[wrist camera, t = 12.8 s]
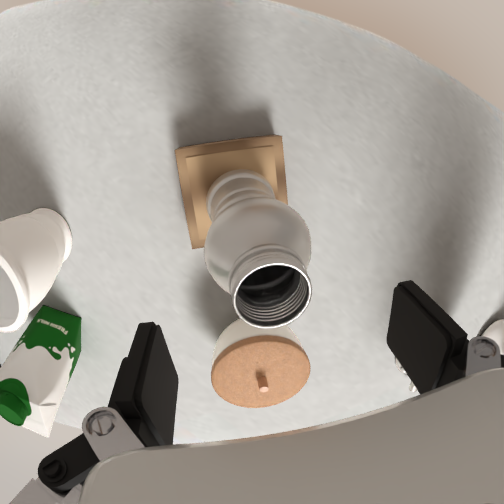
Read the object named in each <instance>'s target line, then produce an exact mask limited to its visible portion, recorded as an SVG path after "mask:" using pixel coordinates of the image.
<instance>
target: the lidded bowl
mask: <svg viewBox="0 0 504 504" xmlns="http://www.w3.org/2000/svg"><path fill="white" fill-rule="evenodd" d="M309 374H310V362H309V359H308V357H307V355H306V353H305V351H304V349H303V347H302V345H301V343H300V341H299V339H298V338H297V336H296V335H295V333H294V332H293V331H292V330H291V329H290V328H289V327H288V326H287V325H284V326H281V327H278V328H272V329H262V328H256V327H253V326H250V325H248V324H247V323H245V322H244V321H242V320H241V319H238V320H236V321H234V322H233V323H231V324H230V325H229V326H228V327H226V329H225V330H224V331H223V332H222V333H221V335H220V336H219V338H218V340H217V342H216V345H215V348H214V352H213V358H212V371H211V381H212V385H213V388H214V390H215V391H216V393H217V394H218V395H219V396H220V397H222V398H223V399H224V400H226V401H227V402H229V403H232V404H234V405H237V406H241V407H248V408H260V407H267V406H272V405H276V404H278V403H281V402H283V401H285V400H287V399H289V398H291V397H292V396H294V395H295V394H296V393H297V392H299V391H300V390H301V388H302V387H303V386H304V385H305V383H306V382H307V379H308V377H309Z"/></svg>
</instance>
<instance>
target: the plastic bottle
mask: <svg viewBox="0 0 504 504" xmlns="http://www.w3.org/2000/svg"><path fill="white" fill-rule="evenodd" d="M206 209H207V212H208V215H209V218H210V220H211V221H212V224H211V226H210V228H209V230H208V233H207V237H206V240H205V245H204V257H205V263H206V266H207V268H208V271H209V273H210V274H211V276H212V277H213V279H214V280H215V281H216V283H217V284H218V285H219V286H220V287H221V288H222V289H223V290H224V291H226V292H228V293H229V294H230V295H231V297H232V305H233V307H234V310H235V312H236V314H237V315H238V316H239V318H240V319H241V320H242V321H244V322H245V323H247V324H248V325H250V326H253V327H256V328H262V329H272V328H278V327H281V326H284V325H287V324H289V323H291V322H292V321H294V320H295V319H297V318H298V317H299V316H300V315H301V314H302V313H303V312H304V311H305V309H306V308H307V306H308V304H309V302H310V299H311V295H312V287H311V282H310V278H309V276H308V274H307V271H306V270H307V267H308V265H309V262H310V257H311V237H310V233H309V229H308V227H307V225H306V223H305V221H304V220H303V218H302V217H301V216H300V215H299V213H297V212H296V211H295V210H294V209H292V208H291V207H290V206H288V205H287V204H285V203H283V202H281V201H279V200H277V199H275V195H274V192H273V189H272V187H271V185H270V183H269V182H268V181H267V179H266V178H265V177H263V176H262V175H261V174H259V173H257V172H255V171H252V170H248V169H237V170H232V171H229V172H227V173H225V174H223V175H221V176H220V177H219V178H218V179H216V180H215V181H214V183H213V184H212V185H211V187H210V189H209V191H208V194H207V197H206Z"/></svg>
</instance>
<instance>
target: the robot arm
mask: <svg viewBox="0 0 504 504" xmlns="http://www.w3.org/2000/svg"><path fill="white" fill-rule="evenodd" d="M467 335H468V334H467V333H466V332H465V331H464V330H463V329H462V328H461V327H460V326H459V325H458V324H457V323H456V322H455V321H454V320H453V319H452V318H451V317H450V316H449V315H448V314H447V313H446V312H445V311H444V310H443V309H442V308H441V307H440V306H439V305H438V304H437V303H436V302H434V301H433V300H432V299H431V298H430V297H429V296H428V295H427V294H426V293H425V292H424V291H423V290H422V289H421V288H420V287H419V286H418V285H416V284H415V283H414V282H413V281H412V280H409V281H404V282H400V283H398V285H397V287H395V288H394V293H393V301H392V308H391V315H390V321H389V327H388V333H387V344H388V346H389V348H390V349H391V351H392V352H393V354H394V355H395V357H396V360H395V361H396V366H397V368H398V369H399V370H400V371H401V372H402V373H405V374H407V375H408V376H409V378H410V379H411V384H410V386H409V390H410V391H411V392H415V391H417V390H418V392H419V393H420V395H418V396H415V397H413V398H410V399H407V400H404V401H401V402H398V403H396V404H393V405H390V406H386V407H383V408H380V409H377V410H374V411H370V412H367V413H364V414H360V415H357V416H353V417H349V418H346V419H342V420H338V421H334V422H330V423H326V424H321V425H317V426H312V427H308V428H303V429H298V430H293V431H288V432H282V433H276V434H270V435H264V436H257V437H250V438H242V439H234V440H224V441H215V442H204V443H190V444H175V445H173V434H174V422H175V411H176V401H177V392H178V375H177V372H176V370H175V367H174V364H173V361H172V359H171V356H170V353H169V350H168V347H167V345H166V342H165V339H164V336H163V333H162V330H161V327H160V325H155V323H154V322H147V323H140V324H139V325H138V328H137V331H136V334H135V337H134V340H133V343H132V346H131V349H130V352H129V355H128V357H125V358H124V359H123V360H122V363H121V366H120V369H119V372H118V375H117V378H116V381H115V384H114V388H113V391H112V394H111V397H110V401H109V404H108V407H100V408H97V409H94V410H92V411H91V412H89V413H88V414H87V415H86V417H85V418H84V420H83V422H82V430H83V434H81V435H80V436H78V437H77V438H75V439H73V440H72V441H70V442H69V443H67V444H65V445H64V446H62V447H61V448H59V449H57V450H56V451H54V452H53V453H51V454H50V455H48V456H46V457H45V458H44V459H43V460H42V461H41V463H40V464H39V467H38V476H39V477H38V478H37V479H36V480H34V479H32V480H31V481H30V482H29V483H28V484H27V485H26V486H25V487H24V488H23V489H22V491H20V493H19V494H18V495H17V496H16V497H15V498H14V499H13V500H12V501H11V502H10V503H9V504H504V355H502V354H500V348H499V346H498V344H497V343H496V342H495V341H494V340H492V339H490V338H488V337H485V336H477V337H474V338H472V339H471V340H470V341H469V340H468V339H467Z"/></svg>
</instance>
